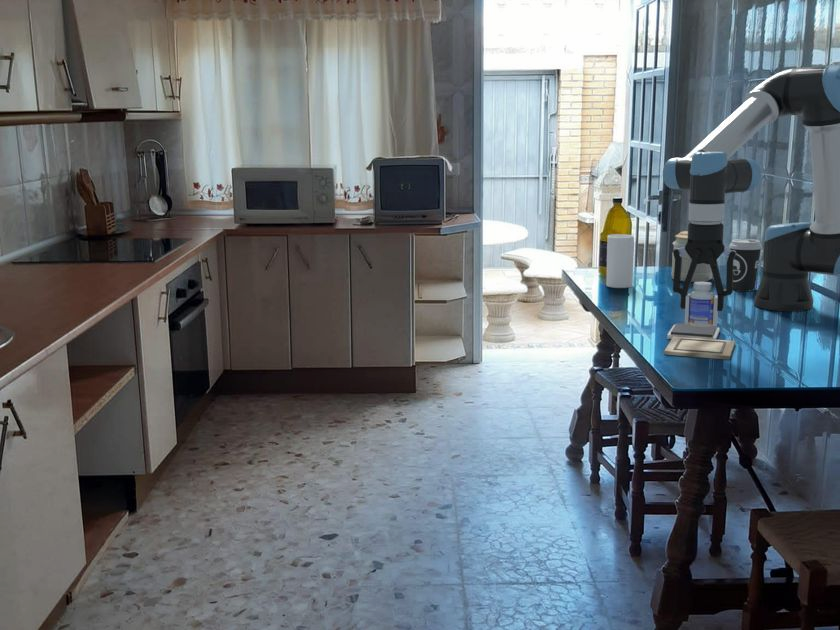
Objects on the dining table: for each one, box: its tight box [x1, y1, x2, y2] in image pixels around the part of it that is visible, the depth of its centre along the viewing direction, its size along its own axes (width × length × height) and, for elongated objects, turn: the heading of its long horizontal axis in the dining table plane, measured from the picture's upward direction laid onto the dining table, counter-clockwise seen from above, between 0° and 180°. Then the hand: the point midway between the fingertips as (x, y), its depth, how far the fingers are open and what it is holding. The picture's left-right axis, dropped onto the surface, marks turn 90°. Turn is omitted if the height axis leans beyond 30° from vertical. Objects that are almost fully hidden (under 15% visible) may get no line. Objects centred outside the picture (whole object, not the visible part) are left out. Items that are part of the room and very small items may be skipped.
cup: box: [605, 233, 635, 289], centre depth 273 cm, size 8×8×16 cm
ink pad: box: [666, 322, 721, 340], centre depth 210 cm, size 11×11×2 cm
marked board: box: [663, 337, 736, 360], centre depth 198 cm, size 14×14×1 cm
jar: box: [671, 230, 713, 283], centre depth 281 cm, size 13×13×18 cm
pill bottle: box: [688, 281, 716, 327], centre depth 195 cm, size 5×5×10 cm
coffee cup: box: [728, 238, 763, 292], centre depth 262 cm, size 10×10×15 cm
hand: (701, 323), depth 196 cm, fingers closed on pill bottle, 5 cm apart
